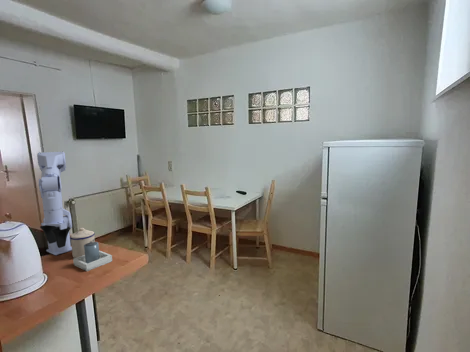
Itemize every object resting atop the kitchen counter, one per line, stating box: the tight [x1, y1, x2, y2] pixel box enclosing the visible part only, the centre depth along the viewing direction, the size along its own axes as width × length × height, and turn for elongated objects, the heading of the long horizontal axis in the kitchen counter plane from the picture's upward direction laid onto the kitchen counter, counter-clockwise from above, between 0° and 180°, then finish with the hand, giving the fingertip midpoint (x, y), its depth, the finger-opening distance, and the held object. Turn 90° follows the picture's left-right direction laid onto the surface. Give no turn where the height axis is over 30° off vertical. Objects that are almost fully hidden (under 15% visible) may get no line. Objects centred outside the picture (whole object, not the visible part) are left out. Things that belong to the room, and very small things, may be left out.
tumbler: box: [84, 241, 100, 264], centre depth 104 cm, size 5×5×7 cm
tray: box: [72, 250, 113, 272], centre depth 104 cm, size 10×10×2 cm
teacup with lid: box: [70, 227, 96, 259], centre depth 114 cm, size 12×9×12 cm
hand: (56, 244), depth 98 cm, fingers open, 7 cm apart
